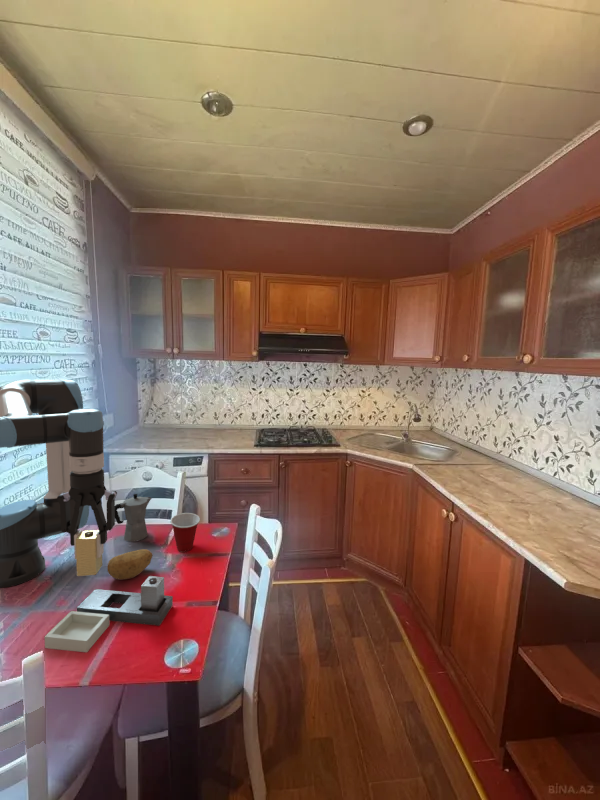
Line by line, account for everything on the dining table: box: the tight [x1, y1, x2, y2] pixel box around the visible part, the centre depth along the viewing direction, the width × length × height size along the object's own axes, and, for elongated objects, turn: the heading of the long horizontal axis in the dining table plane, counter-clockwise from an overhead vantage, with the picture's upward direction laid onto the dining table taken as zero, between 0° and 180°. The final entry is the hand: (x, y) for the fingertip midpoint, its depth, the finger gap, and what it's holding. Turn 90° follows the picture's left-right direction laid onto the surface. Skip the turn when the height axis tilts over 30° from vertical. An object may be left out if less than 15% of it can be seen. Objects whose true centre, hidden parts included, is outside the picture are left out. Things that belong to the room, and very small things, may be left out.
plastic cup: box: [170, 512, 201, 553], centre depth 134 cm, size 11×11×12 cm
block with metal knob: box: [75, 529, 103, 577], centre depth 91 cm, size 4×4×10 cm
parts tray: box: [44, 610, 110, 653], centre depth 90 cm, size 11×9×3 cm
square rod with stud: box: [140, 575, 165, 612], centre depth 99 cm, size 4×4×10 cm
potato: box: [106, 548, 153, 581], centre depth 116 cm, size 10×14×8 cm
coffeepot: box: [115, 493, 153, 542], centre depth 140 cm, size 15×9×18 cm, turn 138°
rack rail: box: [76, 588, 174, 627], centre depth 100 cm, size 24×8×3 cm, turn 86°
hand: (89, 555), depth 91 cm, fingers closed on block with metal knob, 4 cm apart
